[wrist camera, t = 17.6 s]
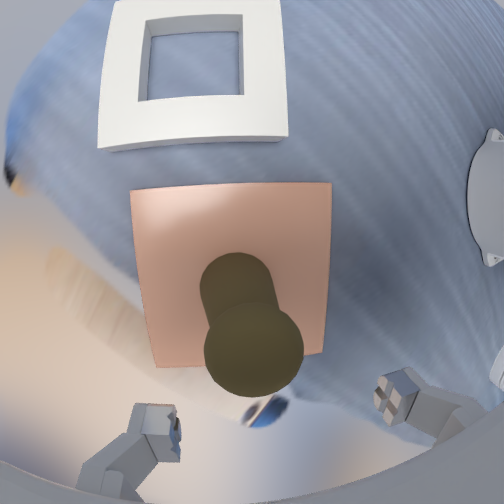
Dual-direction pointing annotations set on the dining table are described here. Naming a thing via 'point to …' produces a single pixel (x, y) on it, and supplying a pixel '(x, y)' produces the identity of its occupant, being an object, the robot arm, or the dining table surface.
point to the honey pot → (498, 370)
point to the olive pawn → (247, 328)
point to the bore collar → (195, 107)
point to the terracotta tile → (229, 241)
